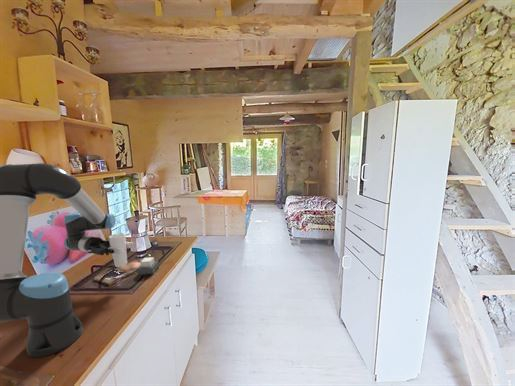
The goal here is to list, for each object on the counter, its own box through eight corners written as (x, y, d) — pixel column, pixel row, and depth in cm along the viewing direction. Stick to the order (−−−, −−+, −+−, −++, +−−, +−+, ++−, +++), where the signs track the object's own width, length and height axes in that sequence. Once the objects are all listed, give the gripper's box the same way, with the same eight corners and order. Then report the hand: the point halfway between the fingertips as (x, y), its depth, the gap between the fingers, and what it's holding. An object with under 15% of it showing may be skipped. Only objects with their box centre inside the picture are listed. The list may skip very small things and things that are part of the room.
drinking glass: (117, 269, 112) (112, 239, 110) (110, 266, 117) (106, 236, 114) (131, 263, 118) (127, 234, 115) (125, 260, 122) (121, 232, 119)
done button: (151, 269, 128) (150, 261, 127) (141, 269, 128) (140, 261, 127) (154, 264, 133) (153, 257, 132) (145, 265, 133) (144, 257, 132)
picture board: (109, 285, 118) (108, 283, 118) (94, 280, 125) (94, 277, 124) (148, 266, 137) (147, 264, 137) (133, 262, 144) (133, 260, 143)
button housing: (153, 274, 127) (152, 267, 126) (138, 275, 127) (137, 268, 126) (159, 267, 135) (158, 260, 134) (144, 268, 135) (143, 261, 134)
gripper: (110, 244, 131) (143, 247, 124) (72, 259, 113) (109, 265, 106) (107, 231, 130) (141, 233, 122) (70, 244, 112) (106, 248, 104)
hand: (126, 248), depth 114 cm, fingers closed on drinking glass, 6 cm apart
